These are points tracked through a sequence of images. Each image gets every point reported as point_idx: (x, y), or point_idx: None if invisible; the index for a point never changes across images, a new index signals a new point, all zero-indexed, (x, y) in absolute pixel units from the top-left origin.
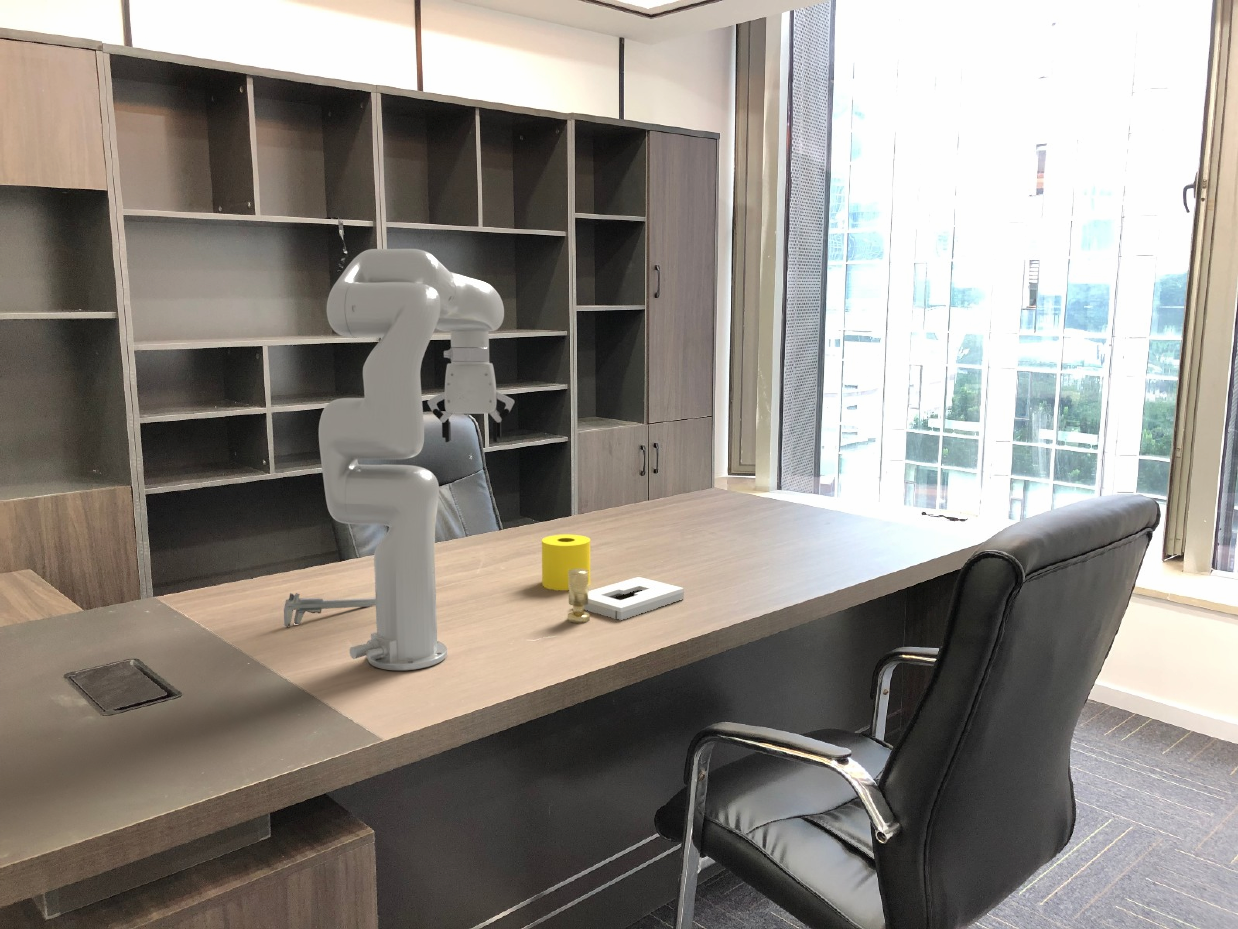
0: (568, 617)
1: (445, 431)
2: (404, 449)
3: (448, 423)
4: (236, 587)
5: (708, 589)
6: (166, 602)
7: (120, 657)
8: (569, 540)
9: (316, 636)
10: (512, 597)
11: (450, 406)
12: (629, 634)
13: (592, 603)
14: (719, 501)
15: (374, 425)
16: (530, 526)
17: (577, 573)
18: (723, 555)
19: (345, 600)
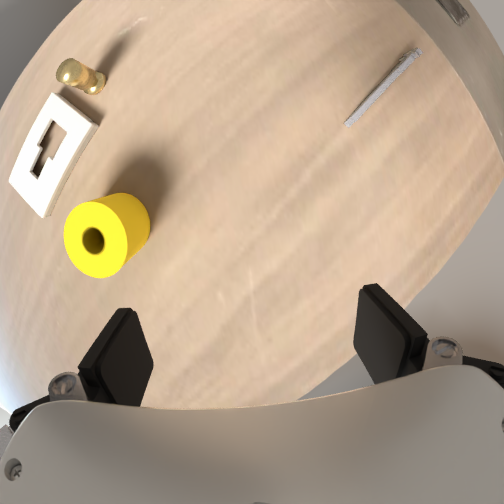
0: (103, 75)
1: (398, 306)
2: None
3: (405, 343)
4: (478, 199)
5: (5, 221)
6: (500, 157)
7: (465, 30)
8: (93, 252)
9: (368, 26)
10: (177, 153)
11: (476, 397)
12: (57, 61)
13: (77, 111)
14: None
15: None
16: None
17: (67, 60)
18: (26, 338)
19: (379, 87)
